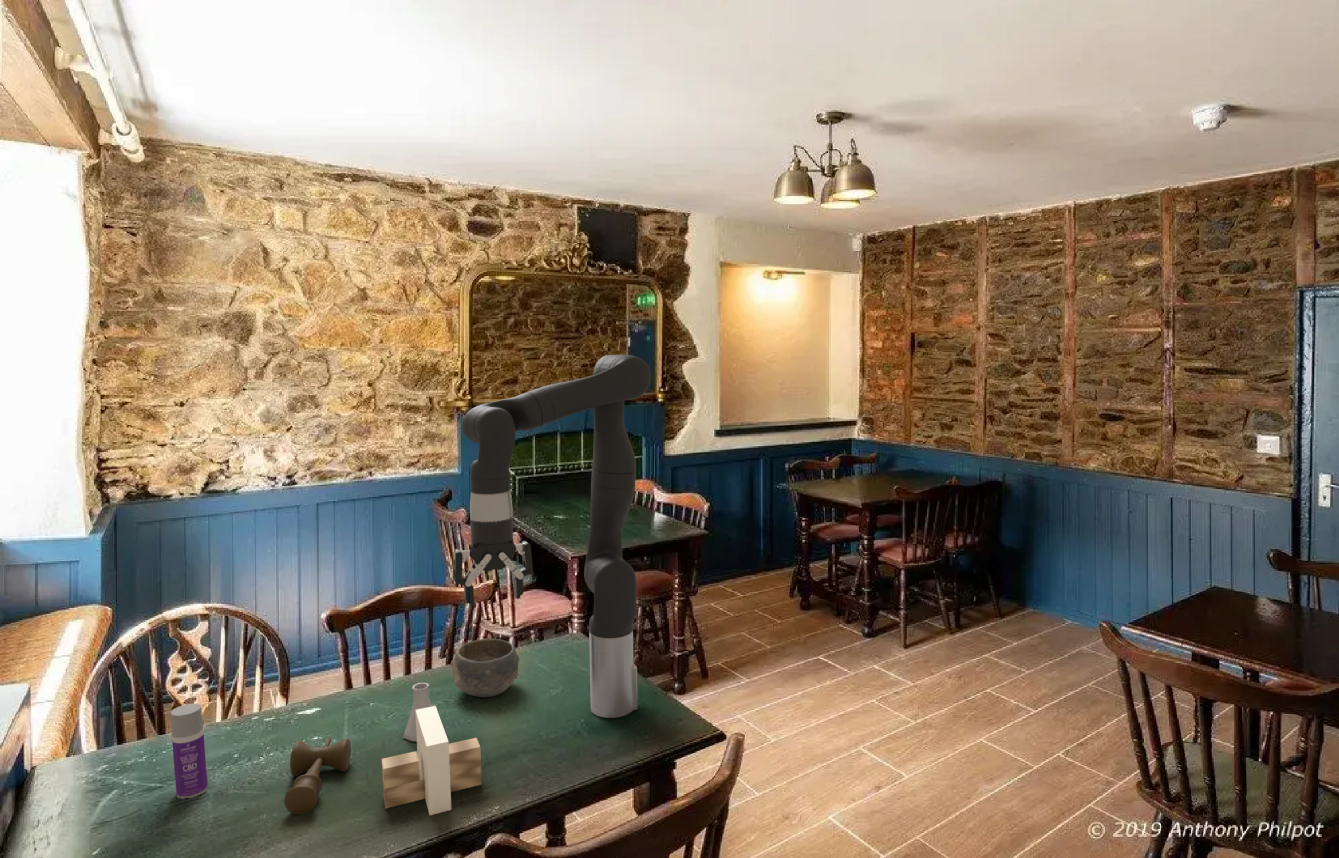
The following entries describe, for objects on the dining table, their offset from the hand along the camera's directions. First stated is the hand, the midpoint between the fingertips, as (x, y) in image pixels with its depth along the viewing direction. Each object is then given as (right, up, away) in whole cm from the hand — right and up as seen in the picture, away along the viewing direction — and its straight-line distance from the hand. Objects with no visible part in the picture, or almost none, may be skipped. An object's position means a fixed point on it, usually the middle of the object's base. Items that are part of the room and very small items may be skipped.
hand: (494, 601), depth 139 cm
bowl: (-8, -27, +30) cm, 41 cm away
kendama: (-31, -32, -5) cm, 44 cm away
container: (-51, -32, -8) cm, 61 cm away
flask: (-17, -29, +12) cm, 36 cm away
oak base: (-9, -31, -8) cm, 33 cm away
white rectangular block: (-9, -31, -8) cm, 33 cm away
